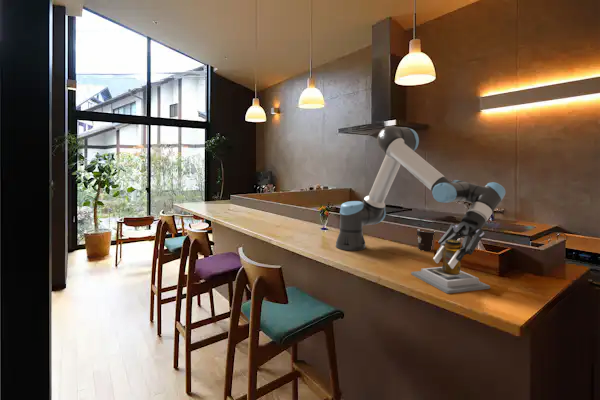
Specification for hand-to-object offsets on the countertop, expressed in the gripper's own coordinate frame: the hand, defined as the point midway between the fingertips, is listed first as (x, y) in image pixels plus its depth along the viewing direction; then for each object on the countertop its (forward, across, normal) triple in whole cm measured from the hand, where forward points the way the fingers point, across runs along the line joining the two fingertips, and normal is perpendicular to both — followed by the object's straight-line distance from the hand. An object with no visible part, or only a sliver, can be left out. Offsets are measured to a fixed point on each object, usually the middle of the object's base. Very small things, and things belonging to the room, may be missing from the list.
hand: (442, 263), depth 121 cm
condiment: (0, 0, -6) cm, 6 cm away
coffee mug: (-17, +39, -28) cm, 51 cm away
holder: (+3, 0, -8) cm, 8 cm away
